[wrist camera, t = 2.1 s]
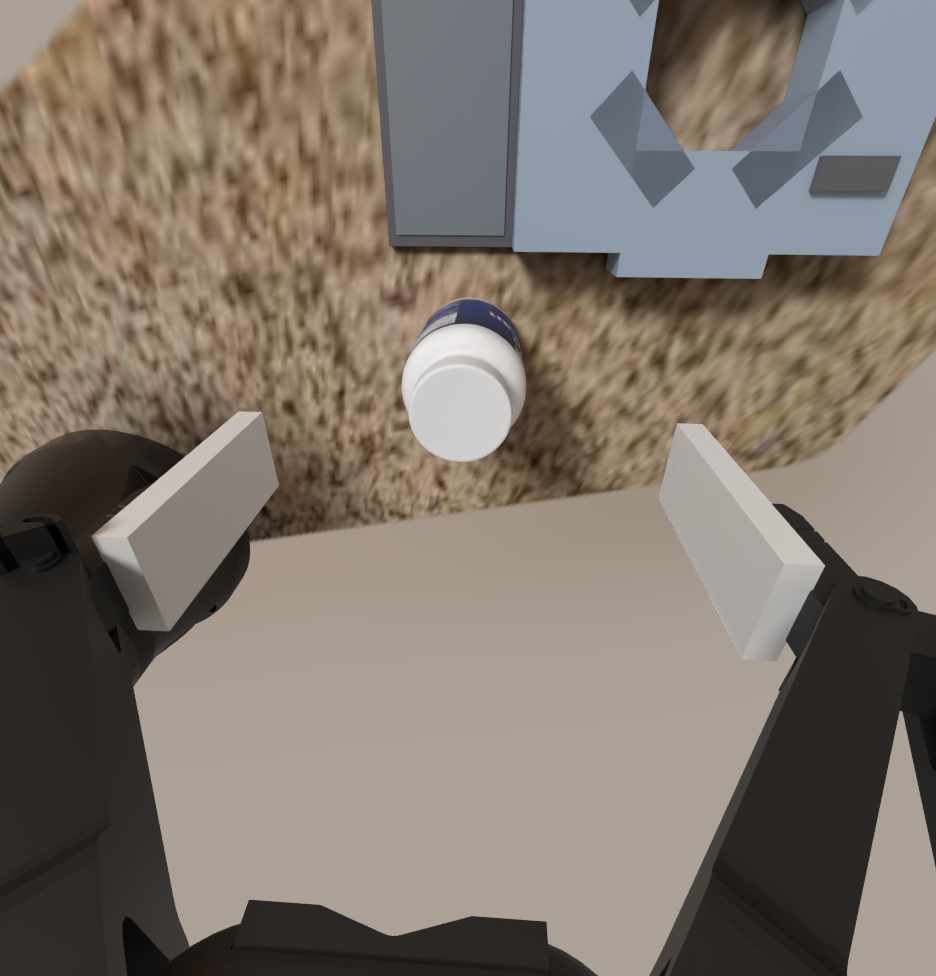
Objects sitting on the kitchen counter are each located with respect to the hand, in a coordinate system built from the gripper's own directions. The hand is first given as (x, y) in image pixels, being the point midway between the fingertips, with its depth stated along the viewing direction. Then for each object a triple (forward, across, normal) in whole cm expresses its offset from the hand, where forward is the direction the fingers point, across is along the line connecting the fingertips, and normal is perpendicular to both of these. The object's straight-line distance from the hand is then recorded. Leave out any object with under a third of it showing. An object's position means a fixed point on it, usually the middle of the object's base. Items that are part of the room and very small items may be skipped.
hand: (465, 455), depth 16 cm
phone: (+13, -2, +11) cm, 17 cm away
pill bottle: (+13, 0, 0) cm, 13 cm away
